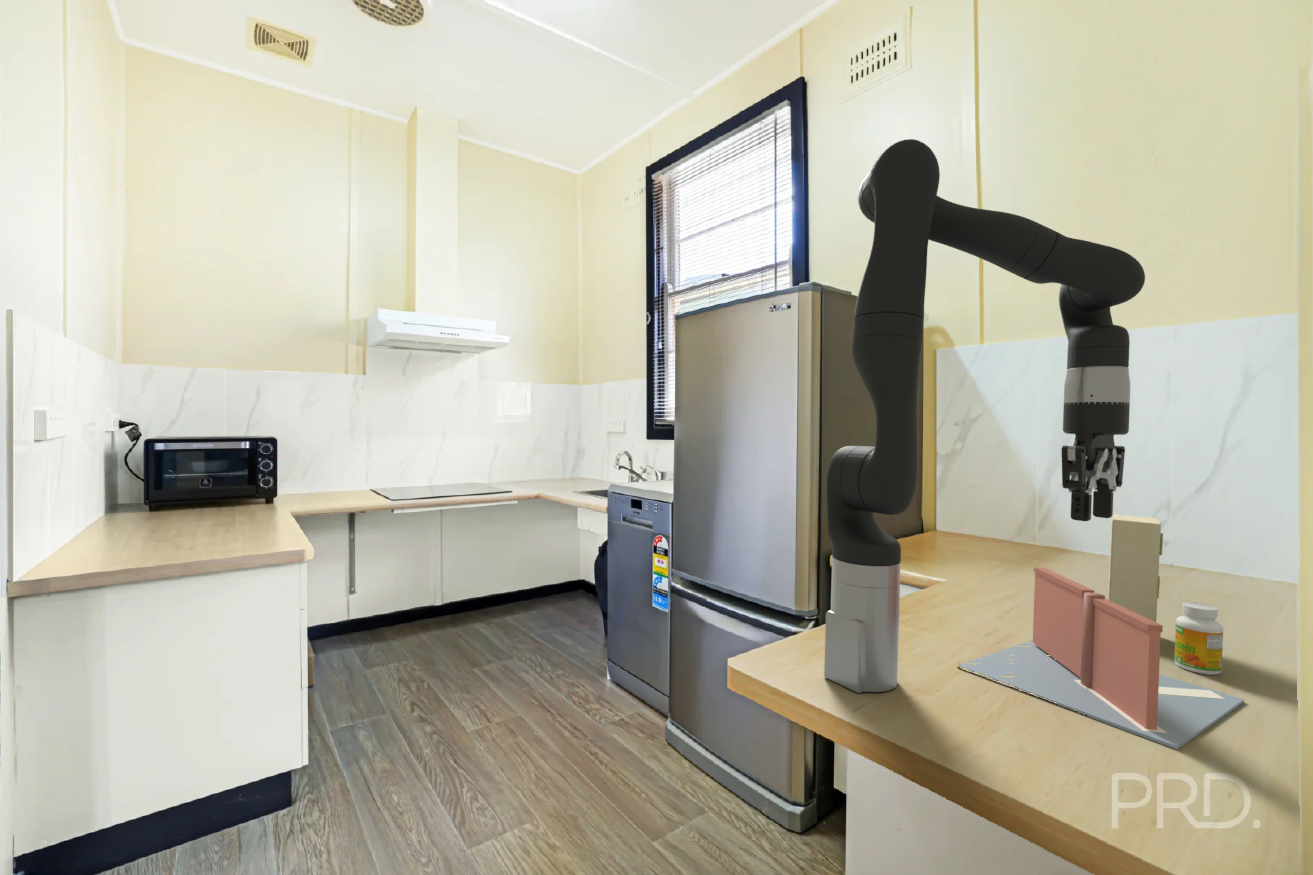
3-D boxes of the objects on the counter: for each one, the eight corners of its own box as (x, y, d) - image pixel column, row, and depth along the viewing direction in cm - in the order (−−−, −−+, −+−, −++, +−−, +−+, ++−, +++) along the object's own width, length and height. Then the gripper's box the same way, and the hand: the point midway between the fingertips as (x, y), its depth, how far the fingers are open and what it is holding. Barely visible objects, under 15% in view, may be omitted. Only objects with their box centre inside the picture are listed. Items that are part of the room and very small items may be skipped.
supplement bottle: (1164, 661, 94) (1167, 600, 93) (1196, 661, 94) (1198, 600, 94) (1198, 675, 88) (1200, 611, 88) (1231, 675, 89) (1234, 611, 88)
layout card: (1177, 749, 67) (1177, 745, 67) (957, 667, 89) (957, 664, 89) (1244, 702, 80) (1244, 698, 80) (1036, 640, 102) (1036, 638, 102)
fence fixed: (1162, 733, 71) (1166, 624, 71) (1140, 731, 71) (1144, 622, 71) (1095, 685, 84) (1098, 592, 84) (1076, 683, 85) (1080, 591, 84)
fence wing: (1091, 678, 85) (1094, 590, 84) (1079, 677, 85) (1082, 589, 84) (1041, 642, 98) (1044, 567, 98) (1031, 642, 99) (1033, 567, 98)
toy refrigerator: (1161, 648, 99) (1166, 523, 99) (1106, 638, 104) (1110, 518, 103) (1158, 635, 106) (1162, 518, 105) (1106, 626, 110) (1110, 513, 110)
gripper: (1104, 398, 77) (1099, 526, 77) (1149, 402, 84) (1145, 519, 85) (1041, 399, 83) (1037, 518, 83) (1088, 403, 91) (1085, 512, 91)
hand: (1091, 518), depth 84 cm, fingers open, 6 cm apart
